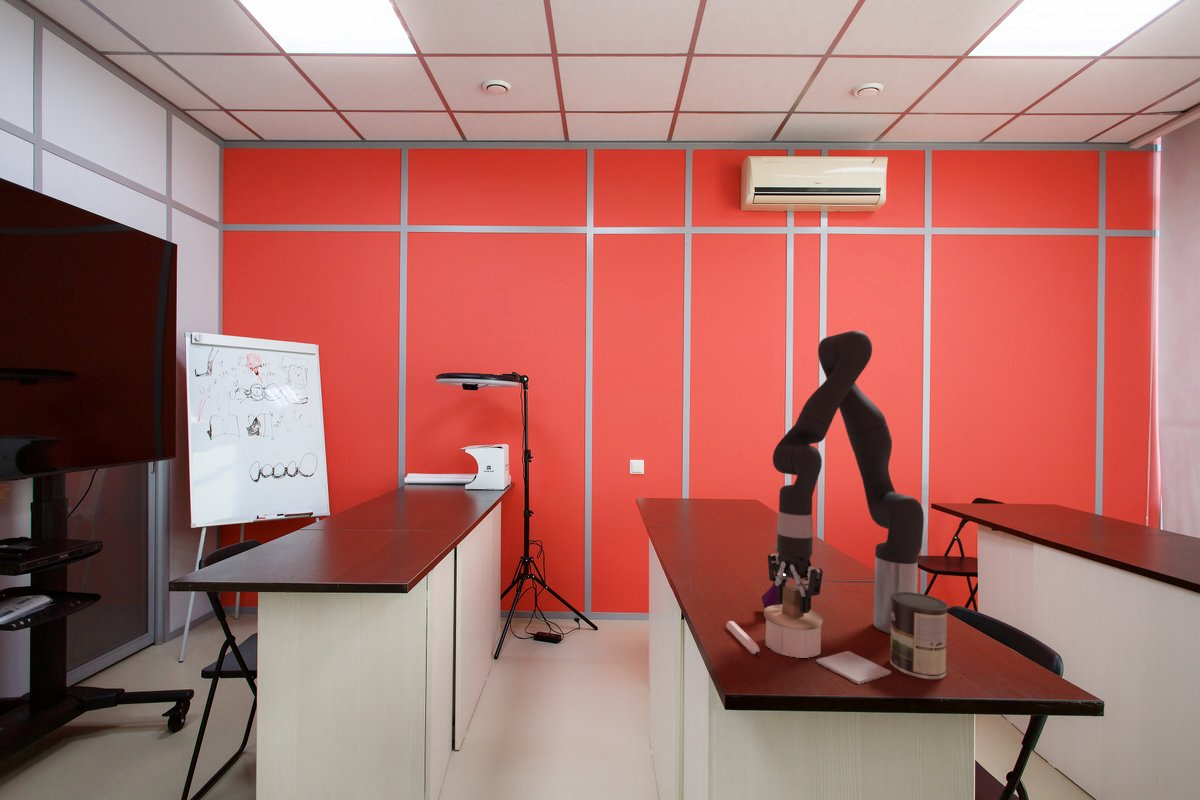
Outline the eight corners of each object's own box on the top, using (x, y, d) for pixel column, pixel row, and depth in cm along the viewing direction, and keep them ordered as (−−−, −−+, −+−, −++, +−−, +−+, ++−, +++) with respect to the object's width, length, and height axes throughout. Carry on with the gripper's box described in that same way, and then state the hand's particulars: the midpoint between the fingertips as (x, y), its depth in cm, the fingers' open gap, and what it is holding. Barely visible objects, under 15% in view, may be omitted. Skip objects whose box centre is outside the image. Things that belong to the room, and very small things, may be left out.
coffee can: (884, 668, 112) (886, 600, 112) (895, 651, 120) (896, 588, 120) (942, 685, 105) (944, 613, 106) (949, 667, 113) (951, 599, 114)
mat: (848, 653, 118) (848, 650, 118) (891, 674, 109) (891, 671, 109) (816, 662, 114) (816, 659, 114) (858, 684, 105) (858, 681, 105)
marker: (759, 664, 114) (729, 632, 130) (767, 658, 115) (736, 627, 130) (753, 653, 114) (724, 622, 130) (762, 648, 115) (731, 618, 130)
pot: (790, 633, 128) (791, 606, 129) (830, 652, 118) (831, 623, 118) (754, 641, 123) (755, 613, 123) (793, 662, 113) (794, 632, 113)
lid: (791, 605, 129) (791, 576, 129) (835, 624, 118) (835, 593, 118) (752, 612, 123) (753, 583, 124) (794, 633, 112) (795, 601, 113)
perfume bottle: (794, 623, 135) (796, 551, 135) (763, 619, 136) (765, 548, 136) (790, 612, 142) (792, 543, 142) (761, 609, 144) (762, 541, 144)
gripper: (833, 538, 117) (831, 616, 116) (782, 524, 129) (780, 595, 129) (808, 541, 113) (806, 621, 113) (759, 527, 126) (757, 599, 126)
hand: (792, 607), depth 121 cm, fingers open, 6 cm apart
